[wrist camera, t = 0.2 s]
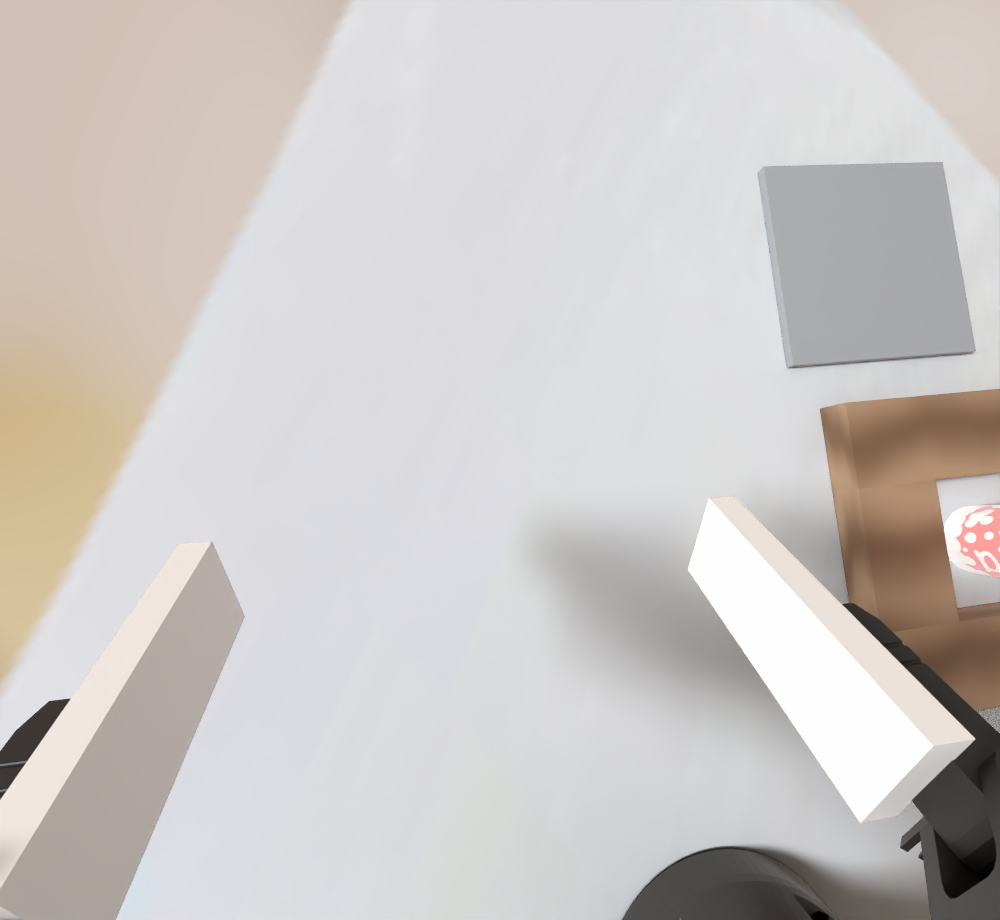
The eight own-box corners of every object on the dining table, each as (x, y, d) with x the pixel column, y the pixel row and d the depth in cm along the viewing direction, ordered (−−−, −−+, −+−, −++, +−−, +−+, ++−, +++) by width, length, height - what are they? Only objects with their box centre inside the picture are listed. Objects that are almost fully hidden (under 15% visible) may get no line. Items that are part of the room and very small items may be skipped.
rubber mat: (966, 353, 32) (975, 351, 32) (786, 367, 31) (793, 365, 30) (933, 168, 33) (942, 162, 33) (757, 172, 32) (763, 166, 31)
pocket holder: (1121, 665, 32) (1165, 676, 30) (865, 709, 29) (895, 725, 27) (1068, 386, 33) (1107, 379, 31) (820, 408, 31) (845, 402, 29)
